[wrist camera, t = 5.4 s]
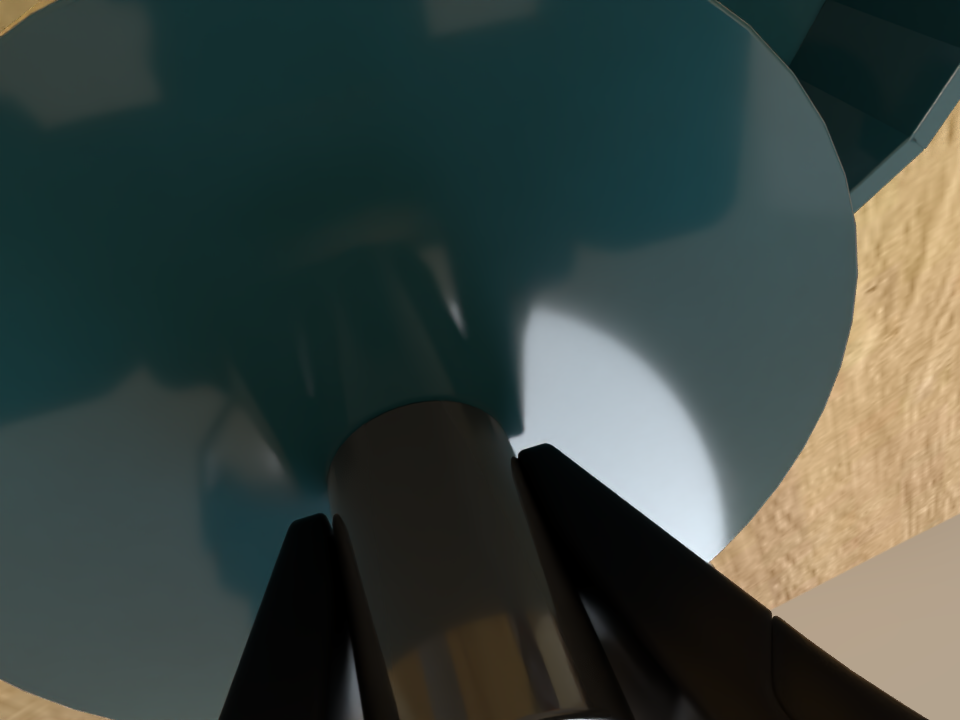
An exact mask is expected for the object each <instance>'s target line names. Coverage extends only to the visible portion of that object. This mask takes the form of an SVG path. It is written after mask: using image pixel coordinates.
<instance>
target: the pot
mask: <svg viewBox="0 0 960 720" xmlns="http://www.w3.org/2000/svg"><path fill="white" fill-rule="evenodd" d="M718 1H720V2H721V3H722V4H724V5H725V6H726V7H728V8H729V9H730V10H732V11H733V12H734V13H736V14H737V15H738V16H740V17H741V18H742V19H744V20H745V21H746V22H748V23H749V24H750V25H751V26H752V27H753V28H754V29H755V31H756V32H757V33H758V34H759V35H760V36H761V37H762V38H763V39H764V40H765V41H766V42H767V44H768V45H769V46H770V47H771V48H772V49H773V50H774V51H775V52H776V53H777V54H778V55H779V57H780V58H781V59H782V60H783V61H784V62H785V63H786V64H787V65H788V66H789V67H790V68H791V69H792V71H793V72H794V74H795V75H796V77H797V78H798V80H799V82H800V83H801V85H802V86H803V88H804V90H805V91H806V93H807V94H808V96H809V97H810V99H811V101H812V102H813V104H814V105H815V107H816V109H817V110H818V112H819V113H820V115H821V117H822V118H823V120H824V121H825V124H826V126H827V129H828V131H829V134H830V136H831V139H832V141H833V144H834V146H835V149H836V152H837V154H838V157H839V159H840V162H841V164H842V167H843V169H844V172H845V174H846V178H847V183H848V188H849V193H850V198H851V203H852V208H853V213H856V212H857V211H858V210H859V209H860V208H861V207H862V206H863V205H864V204H865V203H867V202H868V201H869V200H870V199H871V198H872V197H873V196H874V195H875V194H876V193H878V192H879V191H880V190H881V189H882V188H883V187H884V186H885V185H886V184H887V183H889V182H890V181H891V180H892V179H893V178H894V177H895V176H896V175H897V174H898V173H899V172H901V171H902V170H903V169H904V168H905V167H906V166H907V165H908V164H909V163H910V162H912V161H913V160H914V159H915V158H916V157H917V156H918V155H919V154H920V153H921V152H923V150H924V149H926V148H927V146H928V145H929V143H930V142H931V141H932V139H933V138H934V136H935V135H936V133H937V132H938V130H939V129H940V128H941V126H942V125H943V123H944V122H945V120H946V119H947V118H948V116H949V115H950V113H951V112H952V110H953V109H954V107H955V106H956V105H957V103H958V102H959V100H960V0H718Z"/></svg>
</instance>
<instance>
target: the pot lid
mask: <svg viewBox="0 0 960 720" xmlns="http://www.w3.org/2000/svg"><path fill="white" fill-rule="evenodd" d="M857 278H858V264H857V237H856V223H855V218H854V213H853V208H852V203H851V198H850V193H849V188H848V183H847V178H846V174H845V172H844V169H843V167H842V164H841V162H840V159H839V157H838V154H837V152H836V149H835V146H834V144H833V141H832V139H831V136H830V134H829V131H828V129H827V126H826V124H825V121H824V120H823V118H822V117H821V115H820V113H819V112H818V110H817V109H816V107H815V105H814V104H813V102H812V101H811V99H810V97H809V96H808V94H807V93H806V91H805V90H804V88H803V86H802V85H801V83H800V82H799V80H798V78H797V77H796V75H795V74H794V72H793V71H792V69H791V68H790V67H789V66H788V65H787V64H786V63H785V62H784V61H783V60H782V59H781V58H780V57H779V55H778V54H777V53H776V52H775V51H774V50H773V49H772V48H771V47H770V46H769V45H768V44H767V42H766V41H765V40H764V39H763V38H762V37H761V36H760V35H759V34H758V33H757V32H756V31H755V29H754V28H753V27H752V26H751V25H750V24H749V23H748V22H746V21H745V20H744V19H742V18H741V17H740V16H738V15H737V14H736V13H734V12H733V11H732V10H730V9H729V8H728V7H726V6H725V5H724V4H722V3H721V2H720V1H718V0H42V1H40V2H39V3H37V4H36V5H35V6H33V7H32V8H31V9H30V10H28V11H27V12H26V13H24V14H23V15H22V16H20V17H19V18H18V19H16V20H15V21H14V22H12V23H11V24H10V25H9V26H7V27H6V28H5V29H3V30H2V31H1V32H0V680H2V681H4V682H6V683H8V684H10V685H12V686H14V687H16V688H18V689H20V690H22V691H24V692H27V693H30V694H32V695H35V696H38V697H40V698H43V699H46V700H49V701H51V702H54V703H57V704H59V705H62V706H65V707H68V708H70V709H73V710H77V711H81V712H85V713H89V714H92V715H96V716H100V717H104V718H108V719H112V720H218V719H219V717H220V714H221V711H222V709H223V706H224V703H225V700H226V698H227V695H228V692H229V689H230V687H231V684H232V681H233V678H234V676H235V673H236V670H237V667H238V665H239V662H240V659H241V656H242V654H243V651H244V648H245V645H246V643H247V640H248V637H249V634H250V632H251V629H252V626H253V624H254V621H255V618H256V615H257V613H258V610H259V607H260V604H261V602H262V599H263V596H264V593H265V591H266V588H267V585H268V582H269V580H270V577H271V574H272V571H273V569H274V566H275V563H276V560H277V558H278V555H279V552H280V550H281V547H282V544H283V541H284V539H285V536H286V533H287V530H288V528H289V526H290V524H291V523H292V522H293V521H295V520H298V519H301V518H304V517H307V516H311V515H314V514H317V513H323V514H325V515H326V516H327V518H328V520H329V522H330V524H331V527H332V529H333V534H334V540H335V547H336V553H337V559H338V565H339V571H340V578H341V584H342V590H343V596H344V602H345V609H346V615H347V621H348V627H349V634H350V640H351V646H352V652H353V658H354V665H355V671H356V677H357V683H358V690H359V696H360V702H361V708H362V714H363V720H636V719H635V717H634V715H633V712H632V710H631V708H630V706H629V704H628V701H627V699H626V697H625V695H624V692H623V690H622V688H621V686H620V684H619V681H618V679H617V677H616V675H615V672H614V670H613V668H612V666H611V664H610V661H609V659H608V657H607V655H606V652H605V650H604V648H603V646H602V644H601V641H600V639H599V637H598V635H597V632H596V630H595V628H594V626H593V624H592V621H591V619H590V617H589V615H588V613H587V610H586V608H585V606H584V604H583V601H582V599H581V597H580V595H579V593H578V590H577V588H576V586H575V584H574V581H573V579H572V577H571V575H570V573H569V570H568V568H567V566H566V564H565V562H564V560H563V558H562V556H561V554H560V551H559V549H558V547H557V545H556V543H555V541H554V538H553V536H552V534H551V532H550V530H549V527H548V525H547V523H546V521H545V518H544V516H543V514H542V512H541V510H540V507H539V505H538V503H537V501H536V498H535V496H534V494H533V492H532V490H531V487H530V485H529V483H528V481H527V478H526V476H525V474H524V472H523V469H522V467H521V465H520V463H519V461H518V453H519V452H520V451H521V450H524V449H527V448H530V447H533V446H536V445H540V444H543V443H548V444H551V445H553V446H554V447H556V448H557V449H558V450H560V451H561V452H562V453H563V454H565V455H566V456H567V457H569V458H570V459H571V460H573V461H574V462H575V463H577V464H578V465H579V466H581V467H582V468H583V469H585V470H586V471H587V472H588V473H590V474H591V475H592V476H594V477H595V478H596V479H598V480H599V481H600V482H602V483H603V484H604V485H606V486H607V487H608V488H610V489H611V490H612V491H613V492H615V493H616V494H617V495H619V496H620V497H621V498H623V499H624V500H625V501H627V502H628V503H629V504H631V505H632V506H633V507H635V508H636V509H637V510H638V511H640V512H641V513H642V514H644V515H645V516H646V517H648V518H649V519H650V520H652V521H653V522H654V523H656V524H657V525H658V526H660V527H661V528H662V529H663V530H665V531H666V532H667V533H669V534H670V535H671V536H673V537H674V538H675V539H677V540H678V541H679V542H681V543H682V544H683V545H685V546H686V547H687V548H688V549H690V550H691V551H692V552H694V553H695V554H696V555H698V556H699V557H700V558H702V559H703V560H704V561H706V562H707V563H709V562H710V561H711V560H712V559H713V558H714V557H716V556H717V555H718V554H719V553H720V552H721V551H722V550H723V549H724V548H725V547H726V546H727V545H728V544H729V543H730V542H731V541H732V540H733V539H734V538H735V536H736V535H737V534H738V533H739V532H740V531H741V530H742V529H743V528H744V527H745V526H746V525H747V524H748V523H749V522H750V521H751V520H752V518H753V517H754V516H755V515H756V513H757V512H758V511H759V510H760V508H761V507H762V506H763V505H764V504H765V502H766V501H767V500H768V499H769V497H770V496H771V495H772V494H773V492H774V491H775V490H776V489H777V487H778V486H779V485H780V483H781V482H782V480H783V479H784V477H785V476H786V474H787V473H788V471H789V470H790V468H791V467H792V465H793V464H794V462H795V461H796V459H797V458H798V456H799V455H800V453H801V452H802V450H803V449H804V447H805V445H806V443H807V441H808V439H809V437H810V435H811V433H812V432H813V430H814V428H815V426H816V424H817V422H818V420H819V418H820V416H821V414H822V413H823V411H824V409H825V406H826V404H827V401H828V398H829V396H830V393H831V391H832V388H833V386H834V383H835V381H836V378H837V376H838V373H839V370H840V368H841V365H842V361H843V357H844V353H845V349H846V345H847V341H848V337H849V333H850V330H851V326H852V322H853V313H854V304H855V295H856V287H857Z"/></svg>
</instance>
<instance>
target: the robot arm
mask: <svg viewBox="0 0 960 720" xmlns="http://www.w3.org/2000/svg"><path fill="white" fill-rule="evenodd" d="M518 461H519V463H520V465H521V467H522V469H523V472H524V474H525V476H526V478H527V481H528V483H529V485H530V487H531V490H532V492H533V494H534V496H535V498H536V501H537V503H538V505H539V507H540V510H541V512H542V514H543V516H544V518H545V521H546V523H547V525H548V527H549V530H550V532H551V534H552V536H553V538H554V541H555V543H556V545H557V547H558V549H559V551H560V554H561V556H562V558H563V560H564V562H565V564H566V566H567V568H568V570H569V573H570V575H571V577H572V579H573V581H574V584H575V586H576V588H577V590H578V593H579V595H580V597H581V599H582V601H583V604H584V606H585V608H586V610H587V613H588V615H589V617H590V619H591V621H592V624H593V626H594V628H595V630H596V632H597V635H598V637H599V639H600V641H601V644H602V646H603V648H604V650H605V652H606V655H607V657H608V659H609V661H610V664H611V666H612V668H613V670H614V672H615V675H616V677H617V679H618V681H619V684H620V686H621V688H622V690H623V692H624V695H625V697H626V699H627V701H628V704H629V706H630V708H631V710H632V712H633V715H634V717H635V719H636V720H928V719H927V718H925V717H923V716H922V715H920V714H918V713H917V712H915V711H914V710H912V709H910V708H909V707H907V706H905V705H904V704H902V703H901V702H899V701H898V700H896V699H895V698H893V697H892V696H890V695H889V694H887V693H885V692H884V691H882V690H881V689H879V688H878V687H876V686H875V685H873V684H872V683H870V682H868V681H867V680H865V679H864V678H862V677H861V676H859V675H858V674H856V673H855V672H853V671H851V670H850V669H849V668H847V667H846V666H845V665H843V664H842V663H840V662H839V661H838V660H836V659H835V658H834V657H832V656H831V655H829V654H828V653H826V652H825V651H824V650H822V649H821V648H820V647H818V646H817V645H815V644H814V643H813V642H811V641H810V640H808V639H807V638H806V637H805V636H803V635H802V634H801V633H799V632H798V631H797V630H795V629H794V628H793V627H791V626H790V625H789V624H788V623H786V622H785V621H784V620H782V619H781V618H780V617H778V616H774V617H773V618H772V613H771V611H770V610H769V609H767V608H766V607H765V606H764V605H762V604H761V603H760V602H758V601H757V600H756V599H754V598H753V597H752V596H750V595H749V594H748V593H746V592H745V591H744V590H742V589H741V588H740V587H739V586H737V585H736V584H735V583H733V582H732V581H731V580H729V579H728V578H727V577H725V576H724V575H723V574H721V573H720V572H719V571H717V570H716V569H715V568H714V567H712V566H711V565H710V564H708V563H707V562H706V561H704V560H703V559H702V558H700V557H699V556H698V555H696V554H695V553H694V552H692V551H691V550H690V549H688V548H687V547H686V546H685V545H683V544H682V543H681V542H679V541H678V540H677V539H675V538H674V537H673V536H671V535H670V534H669V533H667V532H666V531H665V530H663V529H662V528H661V527H660V526H658V525H657V524H656V523H654V522H653V521H652V520H650V519H649V518H648V517H646V516H645V515H644V514H642V513H641V512H640V511H638V510H637V509H636V508H635V507H633V506H632V505H631V504H629V503H628V502H627V501H625V500H624V499H623V498H621V497H620V496H619V495H617V494H616V493H615V492H613V491H612V490H611V489H610V488H608V487H607V486H606V485H604V484H603V483H602V482H600V481H599V480H598V479H596V478H595V477H594V476H592V475H591V474H590V473H588V472H587V471H586V470H585V469H583V468H582V467H581V466H579V465H578V464H577V463H575V462H574V461H573V460H571V459H570V458H569V457H567V456H566V455H565V454H563V453H562V452H561V451H560V450H558V449H557V448H556V447H554V446H553V445H551V444H548V443H543V444H540V445H536V446H533V447H530V448H527V449H524V450H521V451H520V452H519V453H518ZM218 720H363V714H362V708H361V702H360V696H359V690H358V683H357V677H356V671H355V665H354V658H353V652H352V646H351V640H350V634H349V627H348V621H347V615H346V609H345V602H344V596H343V590H342V584H341V578H340V571H339V565H338V559H337V553H336V547H335V540H334V534H333V529H332V527H331V524H330V522H329V520H328V518H327V516H326V515H325V514H323V513H317V514H314V515H311V516H307V517H304V518H301V519H298V520H295V521H293V522H292V523H291V524H290V526H289V528H288V530H287V533H286V536H285V539H284V541H283V544H282V547H281V550H280V552H279V555H278V558H277V560H276V563H275V566H274V569H273V571H272V574H271V577H270V580H269V582H268V585H267V588H266V591H265V593H264V596H263V599H262V602H261V604H260V607H259V610H258V613H257V615H256V618H255V621H254V624H253V626H252V629H251V632H250V634H249V637H248V640H247V643H246V645H245V648H244V651H243V654H242V656H241V659H240V662H239V665H238V667H237V670H236V673H235V676H234V678H233V681H232V684H231V687H230V689H229V692H228V695H227V698H226V700H225V703H224V706H223V709H222V711H221V714H220V717H219V719H218Z"/></svg>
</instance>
